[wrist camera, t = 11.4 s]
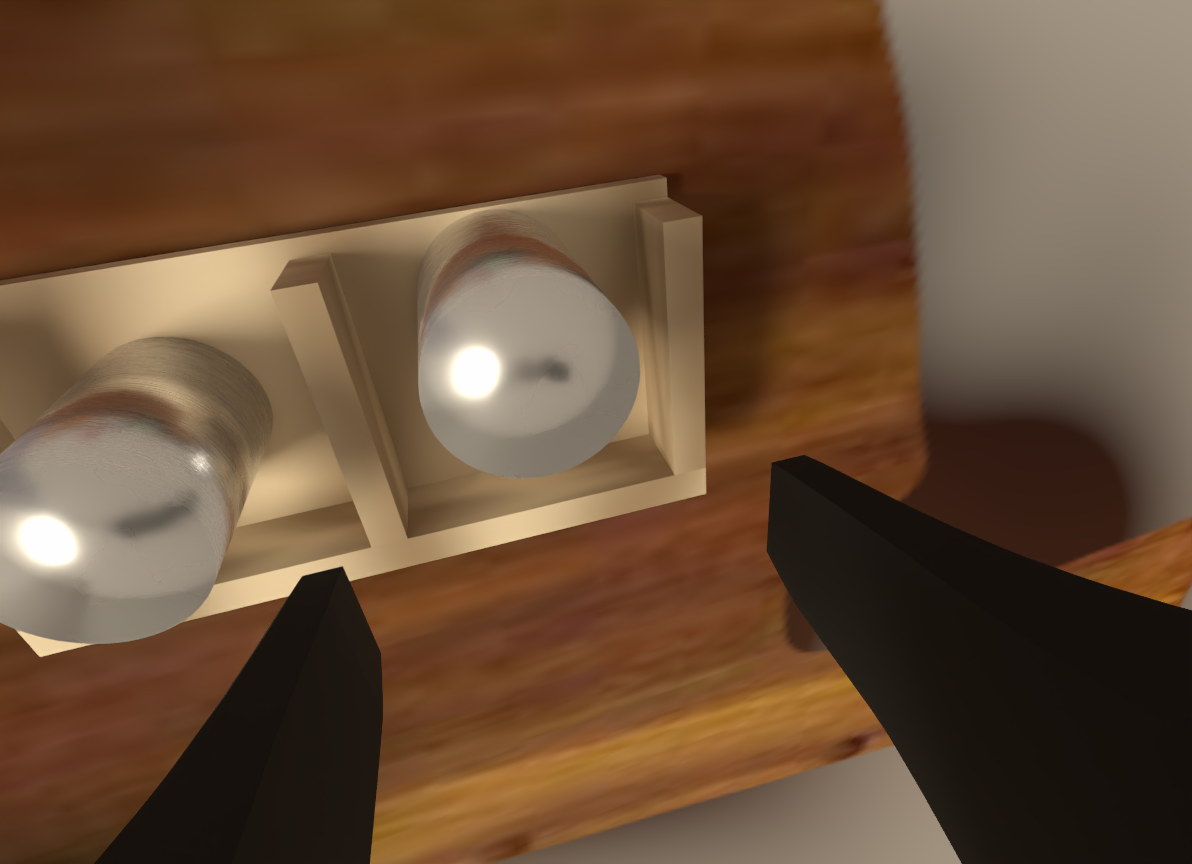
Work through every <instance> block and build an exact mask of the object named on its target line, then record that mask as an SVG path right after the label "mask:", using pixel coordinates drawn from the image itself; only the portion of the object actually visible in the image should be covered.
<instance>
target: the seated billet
mask: <svg viewBox="0 0 1192 864" xmlns="http://www.w3.org/2000/svg"><path fill="white" fill-rule="evenodd" d="M272 427H273V414H272V409H271V404H270V402H269V399H268V396H267V394H266V392H265V390H264V389H263V387H262V386H261V384H260V383H259V381H258V380H257V379H256V377H255V376H254V375H253V374H252V373H251V372H250V371H249V370H248V369H247V368H246V367H245V366H243V365H242V364H241V363H240V362H238V361H237V360H236V359H234V358H233V357H231V356H230V355H228V354H226V353H224V352H222V351H220V350H219V349H216V348H214V347H211V346H209V345H206V344H203V343H200V342H197V341H193V340H188V339H183V338H174V337H152V338H143V339H139V340H135V341H131V342H128V343H126V344H123V345H121V346H119V347H117V348H115V349H113V350H111V351H110V352H109V353H107V354H106V355H105V356H103V357H102V358H101V359H100V360H99V361H98V362H97V363H96V364H95V365H94V366H93V367H92V368H91V369H89V370H88V371H87V372H86V373H85V374H84V375H83V376H82V377H81V378H80V379H79V380H78V381H77V382H76V383H75V384H74V385H73V386H72V387H71V388H70V389H68V390H67V391H66V392H65V393H64V394H63V395H62V396H61V397H60V398H59V399H58V400H57V401H56V402H55V403H54V404H53V405H52V406H51V407H50V408H49V409H47V410H46V411H45V412H44V413H43V414H42V415H41V416H40V417H39V418H38V419H37V420H36V421H35V422H34V423H33V424H32V425H31V426H30V427H29V428H27V429H26V430H25V431H24V432H23V433H22V434H21V435H20V436H19V437H18V438H17V439H16V440H15V441H14V442H13V443H12V444H11V445H10V446H9V447H8V448H6V449H5V450H4V451H3V452H2V453H1V454H0V623H3V624H5V625H7V626H9V627H11V628H14V629H17V630H19V631H22V632H25V633H28V634H32V635H35V636H39V637H42V638H47V639H52V640H57V641H63V642H72V643H85V644H107V643H118V642H127V641H132V640H137V639H142V638H145V637H149V636H152V635H155V634H158V633H161V632H163V631H165V630H168V629H170V628H172V627H174V626H176V625H178V624H179V623H181V622H183V621H184V620H185V619H187V618H188V617H190V616H191V615H192V614H193V613H194V612H195V611H196V610H198V609H199V608H200V607H201V605H202V604H203V603H204V601H205V600H206V599H207V597H208V596H209V594H210V592H211V590H212V588H213V585H214V583H215V580H216V578H217V575H218V572H219V570H220V567H221V565H222V562H223V559H224V557H225V554H226V552H227V549H228V546H229V544H230V541H231V539H232V536H233V533H234V531H235V528H236V525H237V523H238V520H239V518H240V515H241V512H242V510H243V507H244V505H245V502H246V499H247V497H248V494H249V492H250V489H251V486H252V484H253V481H254V479H255V476H256V473H257V471H258V468H259V465H260V463H261V460H262V458H263V455H264V452H265V450H266V447H267V445H268V442H269V439H270V436H271V433H272Z"/></svg>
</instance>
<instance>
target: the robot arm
mask: <svg viewBox="0 0 1192 864" xmlns="http://www.w3.org/2000/svg"><path fill="white" fill-rule="evenodd" d="M767 552H768V554H769V556H770V558H771V560H772V562H773V564H774V566H775V568H776V570H777V572H778V574H779V576H780V578H781V579H782V581H783V583H784V585H785V587H786V588H787V590H788V592H789V594H790V596H791V597H792V599H793V601H794V602H795V604H796V605H797V607H798V608H799V610H800V611H801V612H802V614H803V615H804V617H805V618H806V619H807V621H808V622H809V624H810V625H811V626H812V628H813V629H814V631H815V632H816V633H817V635H818V636H819V638H820V639H821V641H822V642H823V643H824V645H825V646H826V647H827V649H828V650H829V652H830V653H831V654H832V656H833V657H834V658H835V660H836V661H837V663H838V664H839V665H840V667H841V668H842V670H843V671H844V672H845V674H846V675H847V676H848V678H849V679H850V681H851V682H852V683H853V685H854V686H855V688H856V689H857V690H858V692H859V693H860V694H861V696H862V697H863V699H864V700H865V701H866V703H867V704H868V706H869V707H870V708H871V710H872V711H873V713H874V714H875V716H876V717H877V719H878V720H879V722H880V723H881V725H882V726H883V728H884V729H885V731H886V732H887V734H888V735H889V737H890V738H891V740H892V742H893V744H894V745H895V747H896V749H897V750H898V752H899V754H900V755H901V757H902V759H903V761H904V762H905V764H906V766H907V767H908V769H909V771H910V773H911V774H912V776H913V778H914V779H915V781H916V782H917V784H918V786H919V788H920V790H921V791H922V793H923V795H924V796H925V798H926V800H927V802H928V804H929V805H930V807H931V809H932V811H933V813H934V814H935V816H936V818H937V820H938V822H939V823H940V825H941V827H942V829H943V831H944V832H945V834H946V836H947V838H948V840H949V841H950V843H951V845H952V847H953V849H954V850H955V852H956V854H957V855H958V858H959V859H960V861H961V863H962V864H1192V610H1188V609H1185V608H1181V607H1177V606H1174V605H1170V604H1167V603H1163V602H1160V601H1157V600H1153V599H1150V598H1147V597H1143V596H1140V595H1137V594H1133V593H1130V592H1127V591H1123V590H1120V589H1117V588H1113V587H1110V586H1107V585H1104V584H1101V583H1098V582H1095V581H1092V580H1089V579H1086V578H1083V577H1080V576H1077V575H1074V574H1071V573H1068V572H1066V571H1063V570H1060V569H1057V568H1055V567H1052V566H1049V565H1046V564H1044V563H1041V562H1038V561H1035V560H1032V559H1030V558H1027V557H1024V556H1022V555H1019V554H1016V553H1014V552H1012V551H1009V550H1007V549H1004V548H1001V547H999V546H997V545H994V544H992V543H990V542H987V541H985V540H983V539H980V538H978V537H976V536H973V535H971V534H968V533H966V532H964V531H962V530H959V529H957V528H954V527H953V526H950V525H948V524H946V523H944V522H942V521H939V520H937V519H935V518H933V517H931V516H929V515H926V514H924V513H922V512H920V511H918V510H916V509H914V508H912V507H910V506H908V505H906V504H904V503H901V502H899V501H897V500H895V499H893V498H891V497H889V496H887V495H885V494H883V493H881V492H879V491H877V490H875V489H873V488H871V487H869V486H867V485H865V484H863V483H861V482H859V481H857V480H855V479H853V478H851V477H849V476H847V475H845V474H843V473H841V472H839V471H837V470H835V469H833V468H831V467H829V466H827V465H825V464H823V463H821V462H819V461H817V460H815V459H812V458H810V457H808V456H805V455H802V456H798V457H794V458H790V459H785V460H781V461H777V462H773V463H772V468H771V486H770V503H769V521H768V539H767ZM382 721H383V694H382V668H381V652H380V650H379V648H378V645H377V643H376V641H375V639H374V636H373V634H372V632H371V629H370V627H369V625H368V623H367V620H366V618H365V616H364V613H363V611H362V609H361V607H360V604H359V602H358V600H357V597H356V595H355V593H354V591H353V588H352V586H351V584H350V581H349V579H348V577H347V575H346V572H345V570H344V568H343V566H342V567H337V568H333V569H329V570H325V571H321V572H317V573H313V574H308V575H304V576H302V577H301V579H300V580H299V581H298V583H297V584H296V586H295V587H294V589H293V590H292V592H291V594H290V595H289V597H288V598H287V600H286V601H285V603H284V604H283V606H282V608H281V609H280V611H279V612H278V614H277V616H276V617H275V619H274V620H273V622H272V623H271V625H270V627H269V628H268V630H267V631H266V633H265V635H264V636H263V638H262V639H261V641H260V642H259V644H258V645H257V647H256V649H255V650H254V652H253V653H252V655H251V656H250V658H249V659H248V661H247V662H246V664H245V665H244V667H243V668H242V670H241V671H240V673H239V674H238V676H237V677H236V679H235V680H234V682H233V683H232V685H231V686H230V688H229V689H228V691H227V692H226V694H225V695H224V697H223V698H222V700H221V701H220V703H219V704H218V706H217V707H216V708H215V710H214V711H213V713H212V714H211V716H210V717H209V718H208V720H207V721H206V722H205V724H204V725H203V727H202V728H201V729H200V731H199V732H198V733H197V735H196V736H195V738H194V739H193V740H192V742H191V743H190V744H189V746H188V747H187V748H186V750H185V751H184V753H183V754H182V755H181V757H180V758H179V759H178V761H177V762H176V764H175V765H174V766H173V768H172V769H171V770H170V772H169V773H168V774H167V776H166V777H165V778H164V779H163V781H162V782H161V783H160V785H159V786H158V787H157V788H156V790H155V791H154V792H153V794H152V795H151V796H150V797H149V799H148V800H147V801H146V802H145V804H144V805H143V806H142V807H141V809H140V810H139V811H138V812H137V814H136V815H135V816H134V817H133V818H132V819H131V821H130V822H129V823H128V824H127V825H126V827H125V828H124V829H123V830H122V831H121V833H120V834H119V835H118V836H117V837H116V839H115V840H114V841H113V842H112V843H111V845H110V846H109V847H108V848H107V849H106V850H105V852H104V853H103V854H102V855H101V856H100V858H99V859H98V860H97V861H96V862H95V863H94V864H370V855H371V845H372V834H373V823H374V812H375V801H376V790H377V780H378V769H379V757H380V746H381V734H382Z"/></svg>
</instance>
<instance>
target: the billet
mask: <svg viewBox="0 0 1192 864" xmlns="http://www.w3.org/2000/svg"><path fill="white" fill-rule="evenodd" d="M417 315H418V388H419V397H420V403H421V406H422V410H423V414H424V416H425V418H426V421H427V423H428V425H429V427H430V429H431V430H432V432H433V433H434V435H435V437H436V438H437V439H438V440H439V441H440V443H441V444H442V445H443V446H444V447H445V448H446V449H447V450H448V451H449V452H450V453H452V454H453V455H454V456H455V457H457V458H458V459H460V460H461V461H462V462H464V463H466V464H468V465H470V466H471V467H473V468H475V469H478V470H480V471H483V472H486V473H489V474H493V475H497V476H501V477H509V478H535V477H543V476H548V475H552V474H556V473H559V472H562V471H565V470H568V469H570V468H572V467H575V466H577V465H579V464H581V463H582V462H584V461H586V460H588V459H589V458H591V457H592V456H594V455H595V454H596V453H598V452H599V451H600V450H602V449H603V448H604V447H605V446H606V445H607V444H608V443H609V442H610V441H611V440H612V439H613V438H614V436H615V435H616V434H617V433H618V432H619V431H620V429H621V428H622V426H623V425H624V423H625V422H626V420H627V418H628V416H629V414H630V412H631V410H632V408H633V405H634V402H635V400H636V397H637V392H638V388H639V382H640V358H639V353H638V348H637V344H636V342H635V339H634V336H633V333H632V332H631V330H630V328H629V326H628V324H627V322H626V321H625V319H624V318H623V317H622V315H621V314H620V313H619V311H618V310H617V309H616V308H615V306H614V305H613V304H612V303H611V301H610V300H609V299H608V298H607V297H606V295H605V294H604V293H603V292H602V290H601V289H600V288H599V287H598V285H597V284H596V283H595V282H594V281H593V279H592V278H591V277H590V276H589V274H588V273H587V272H586V271H585V270H584V268H583V267H582V266H581V265H580V263H579V262H578V261H577V260H576V259H575V257H574V256H573V255H572V254H571V252H570V251H569V250H568V249H567V247H566V246H565V245H564V244H563V243H562V241H561V240H560V239H559V238H558V237H557V236H556V235H555V234H554V233H553V231H552V230H550V229H549V228H548V227H547V226H545V225H544V224H543V223H541V222H539V221H538V220H536V219H534V218H532V217H530V216H527V215H525V214H522V213H518V212H515V211H509V210H485V211H479V212H476V213H472V214H469V215H467V216H464V217H462V218H460V219H458V220H456V221H455V222H453V223H451V224H450V225H449V226H447V227H446V228H445V229H444V230H442V231H441V232H440V233H439V234H438V236H437V237H436V238H435V239H434V240H433V241H432V243H431V244H430V246H429V247H428V249H427V251H426V253H425V255H424V257H423V259H422V262H421V265H420V268H419V274H418V281H417Z"/></svg>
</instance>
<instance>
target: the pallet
mask: <svg viewBox="0 0 1192 864" xmlns="http://www.w3.org/2000/svg"><path fill="white" fill-rule="evenodd" d="M485 210H509V211H515V212H518V213H522V214H525V215H527V216H530V217H532V218H534V219H536V220H538V221H539V222H541V223H543V224H544V225H545V226H547V227H548V228H549V229H550V230H552V231H553V233H554V234H555V235H556V236H557V237H558V238H559V239H560V240H561V241H562V243H563V244H564V245H565V246H566V247H567V249H568V250H569V251H570V252H571V254H572V255H573V256H574V257H575V259H576V260H577V261H578V262H579V263H580V265H581V266H582V267H583V268H584V270H585V271H586V272H587V273H588V274H589V276H590V277H591V278H592V279H593V281H594V282H595V283H596V284H597V285H598V287H599V288H600V289H601V290H602V292H603V293H604V294H605V295H606V297H607V298H608V299H609V300H610V301H611V303H612V304H613V305H614V306H615V308H616V309H617V310H618V311H619V313H620V314H621V315H622V317H623V318H624V319H625V321H626V322H627V324H628V326H629V328H630V330H631V332H632V333H633V336H634V339H635V342H636V344H637V348H638V353H639V358H640V382H639V388H638V392H637V397H636V400H635V402H634V405H633V408H632V410H631V412H630V414H629V416H628V418H627V420H626V422H625V423H624V425H623V426H622V428H621V429H620V431H619V432H618V433H617V434H616V435H615V436H614V438H613V439H612V440H611V441H610V442H609V443H608V444H607V445H606V446H605V447H604V448H603V449H602V450H600V451H599V452H598V453H596V454H595V455H594V456H592V457H591V458H589V459H588V460H586V461H584V462H582V463H581V464H579V465H577V466H575V467H572V468H570V469H568V470H565V471H562V472H559V473H556V474H552V475H548V476H543V477H535V478H509V477H501V476H497V475H493V474H489V473H486V472H483V471H480V470H478V469H475V468H473V467H471V466H470V465H468V464H466V463H464V462H462V461H461V460H460V459H458V458H457V457H455V456H454V455H453V454H452V453H450V452H449V451H448V450H447V449H446V448H445V447H444V446H443V445H442V444H441V443H440V441H439V440H438V439H437V438H436V437H435V435H434V433H433V432H432V430H431V429H430V427H429V425H428V423H427V421H426V418H425V416H424V414H423V410H422V406H421V403H420V397H419V388H418V315H417V281H418V274H419V268H420V265H421V262H422V259H423V257H424V255H425V253H426V251H427V249H428V247H429V246H430V244H431V243H432V241H433V240H434V239H435V238H436V237H437V236H438V234H439V233H440V232H441V231H442V230H444V229H445V228H446V227H447V226H449V225H450V224H451V223H453V222H455V221H456V220H458V219H460V218H462V217H464V216H467V215H469V214H472V213H476V212H479V211H485ZM152 337H174V338H183V339H188V340H193V341H197V342H200V343H203V344H206V345H209V346H211V347H214V348H216V349H219V350H220V351H222V352H224V353H226V354H228V355H230V356H231V357H233V358H234V359H236V360H237V361H238V362H240V363H241V364H242V365H243V366H245V367H246V368H247V369H248V370H249V371H250V372H251V373H252V374H253V375H254V376H255V377H256V379H257V380H258V381H259V383H260V384H261V386H262V387H263V389H264V390H265V392H266V394H267V396H268V399H269V402H270V404H271V409H272V414H273V427H272V433H271V436H270V439H269V442H268V445H267V447H266V450H265V452H264V455H263V458H262V460H261V463H260V465H259V468H258V471H257V473H256V476H255V479H254V481H253V484H252V486H251V489H250V492H249V494H248V497H247V499H246V502H245V505H244V507H243V510H242V512H241V515H240V518H239V520H238V523H237V525H236V528H235V531H234V533H233V536H232V539H231V541H230V544H229V546H228V549H227V552H226V554H225V557H224V559H223V562H222V565H221V567H220V570H219V572H218V575H217V578H216V580H215V583H214V585H213V588H212V590H211V592H210V594H209V596H208V597H207V599H206V600H205V601H204V603H203V604H202V605H201V607H200V608H199V609H198V610H196V611H195V612H194V613H193V614H192V615H191V616H190V617H188V618H187V619H185V620H184V621H188V620H193V619H197V618H201V617H205V616H209V615H213V614H217V613H221V612H225V611H229V610H233V609H237V608H242V607H246V606H250V605H254V604H258V603H262V602H266V601H270V600H274V599H278V598H282V597H286V596H289V595H290V594H291V592H292V590H293V589H294V587H295V586H296V584H297V583H298V581H299V580H300V579H301V577H302V576H304V575H308V574H313V573H317V572H321V571H325V570H329V569H333V568H337V567H342V566H343V568H344V570H345V572H346V575H347V577H348V579H349V581H352V580H356V579H360V578H364V577H368V576H372V575H376V574H380V573H384V572H388V571H393V570H397V569H401V568H405V567H409V566H413V565H417V564H421V563H425V562H429V561H433V560H437V559H442V558H446V557H450V556H454V555H458V554H462V553H466V552H470V551H474V550H478V549H482V548H486V547H491V546H495V545H499V544H503V543H507V542H511V541H515V540H519V539H523V538H527V537H531V536H535V535H540V534H544V533H548V532H552V531H556V530H560V529H564V528H568V527H572V526H576V525H580V524H584V523H588V522H593V521H597V520H601V519H605V518H609V517H613V516H617V515H621V514H625V513H629V512H633V511H637V510H642V509H646V508H650V507H654V506H658V505H662V504H666V503H670V502H674V501H678V500H682V499H686V498H691V497H695V496H699V495H703V494H706V449H705V376H704V304H703V231H702V215H700V214H698V213H696V212H694V211H692V210H690V209H689V208H687V207H685V206H683V205H681V204H679V203H678V202H676V201H674V200H672V199H670V198H668V197H667V178H666V177H664V176H662V175H660V174H659V175H652V176H646V177H640V178H634V179H628V180H621V181H615V182H609V183H603V184H596V185H590V186H584V187H578V188H572V189H565V190H559V191H553V192H547V193H540V194H534V195H528V196H522V197H516V198H509V199H503V200H497V201H491V202H484V203H478V204H472V205H466V206H460V207H453V208H447V209H441V210H435V211H428V212H422V213H416V214H410V215H404V216H397V217H391V218H385V219H379V220H372V221H366V222H360V223H354V224H348V225H341V226H335V227H329V228H323V229H316V230H310V231H304V232H298V233H292V234H285V235H279V236H273V237H267V238H260V239H254V240H248V241H242V242H236V243H229V244H223V245H217V246H211V247H204V248H198V249H192V250H186V251H180V252H173V253H167V254H161V255H155V256H148V257H142V258H136V259H130V260H124V261H117V262H111V263H105V264H99V265H92V266H86V267H80V268H74V269H68V270H61V271H55V272H49V273H43V274H36V275H30V276H24V277H18V278H12V279H5V280H0V454H1V453H2V452H3V451H4V450H5V449H6V448H8V447H9V446H10V445H11V444H12V443H13V442H14V441H15V440H16V439H17V438H18V437H19V436H20V435H21V434H22V433H23V432H24V431H25V430H26V429H27V428H29V427H30V426H31V425H32V424H33V423H34V422H35V421H36V420H37V419H38V418H39V417H40V416H41V415H42V414H43V413H44V412H45V411H46V410H47V409H49V408H50V407H51V406H52V405H53V404H54V403H55V402H56V401H57V400H58V399H59V398H60V397H61V396H62V395H63V394H64V393H65V392H66V391H67V390H68V389H70V388H71V387H72V386H73V385H74V384H75V383H76V382H77V381H78V380H79V379H80V378H81V377H82V376H83V375H84V374H85V373H86V372H87V371H88V370H89V369H91V368H92V367H93V366H94V365H95V364H96V363H97V362H98V361H99V360H100V359H101V358H102V357H103V356H105V355H106V354H107V353H109V352H110V351H111V350H113V349H115V348H117V347H119V346H121V345H123V344H126V343H128V342H131V341H135V340H139V339H143V338H152ZM184 621H183V622H184ZM16 631H17V632H18V633H19V634H20V635H21V636H22V637H23V638H24V640H25V641H26V642H27V643H28V644H29V645H30V646H31V648H32V649H33V650H34V651H35V652H36V653H37V654H38V655H39V657H42V656H46V655H50V654H54V653H58V652H62V651H66V650H70V649H74V648H78V647H82V646H86V645H91V644H85V643H72V642H63V641H57V640H52V639H47V638H42V637H39V636H35V635H32V634H28V633H25V632H22V631H19V630H17V629H16Z"/></svg>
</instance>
